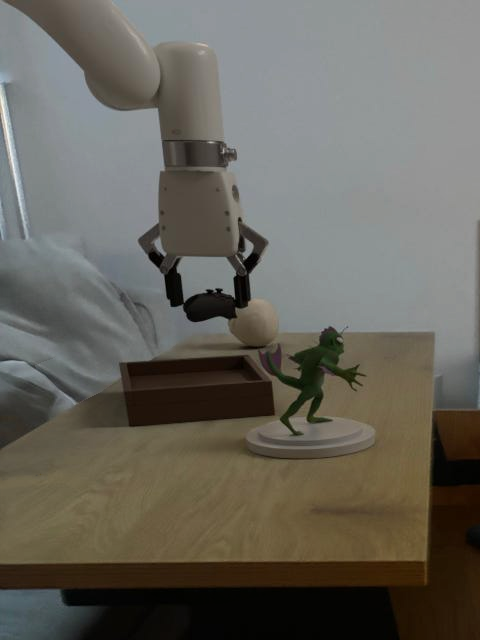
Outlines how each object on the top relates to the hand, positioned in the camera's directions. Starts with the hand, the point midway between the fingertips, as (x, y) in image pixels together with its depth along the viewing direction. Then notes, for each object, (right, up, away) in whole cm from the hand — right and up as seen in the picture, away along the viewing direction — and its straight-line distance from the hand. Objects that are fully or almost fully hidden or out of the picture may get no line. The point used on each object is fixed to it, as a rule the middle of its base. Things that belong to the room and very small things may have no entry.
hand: (209, 306), depth 129 cm
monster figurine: (+20, -25, -36) cm, 48 cm away
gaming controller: (0, -2, +1) cm, 2 cm away
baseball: (+3, -1, +15) cm, 15 cm away
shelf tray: (+4, -18, -21) cm, 28 cm away
